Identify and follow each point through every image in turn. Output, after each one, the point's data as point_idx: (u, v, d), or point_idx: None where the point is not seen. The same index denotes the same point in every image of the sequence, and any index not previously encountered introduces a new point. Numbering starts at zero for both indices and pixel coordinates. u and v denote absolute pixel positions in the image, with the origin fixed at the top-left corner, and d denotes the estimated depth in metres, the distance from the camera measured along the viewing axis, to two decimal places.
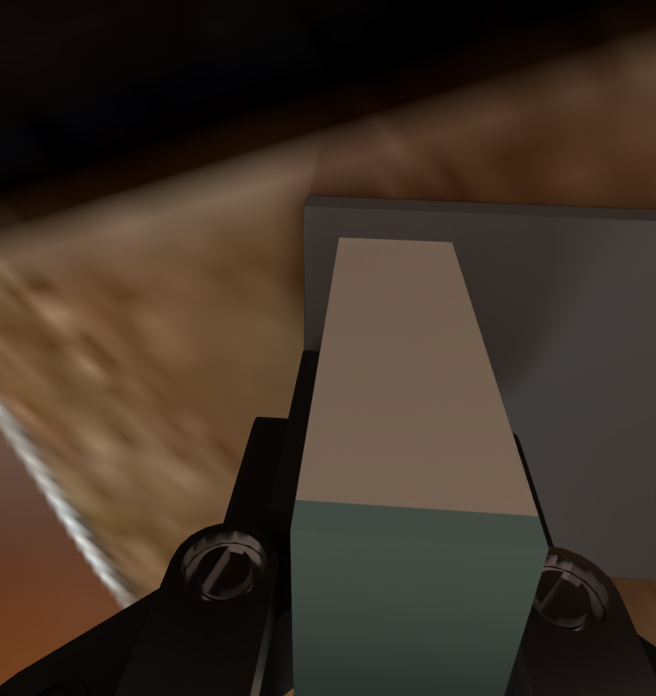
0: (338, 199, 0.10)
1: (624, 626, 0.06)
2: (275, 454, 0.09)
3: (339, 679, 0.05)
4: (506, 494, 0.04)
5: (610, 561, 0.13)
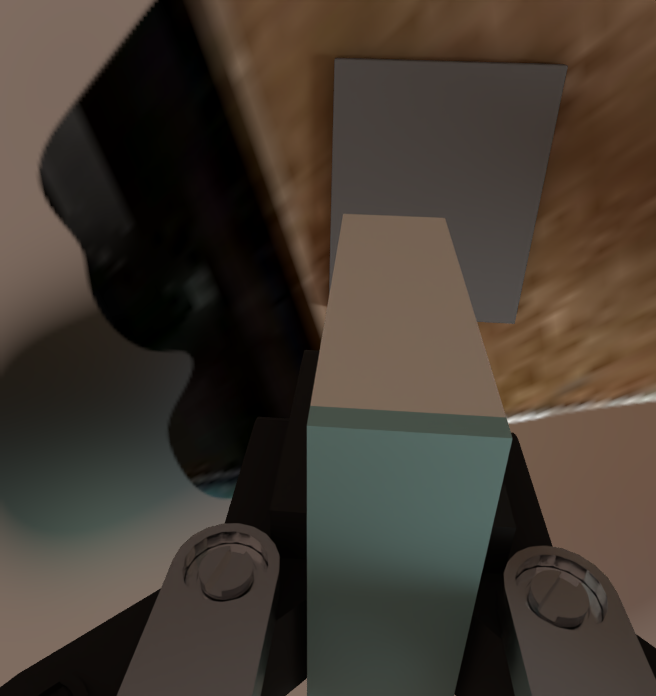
0: None
1: (622, 626, 0.06)
2: (276, 454, 0.09)
3: (345, 563, 0.06)
4: (481, 402, 0.06)
5: (533, 165, 0.22)
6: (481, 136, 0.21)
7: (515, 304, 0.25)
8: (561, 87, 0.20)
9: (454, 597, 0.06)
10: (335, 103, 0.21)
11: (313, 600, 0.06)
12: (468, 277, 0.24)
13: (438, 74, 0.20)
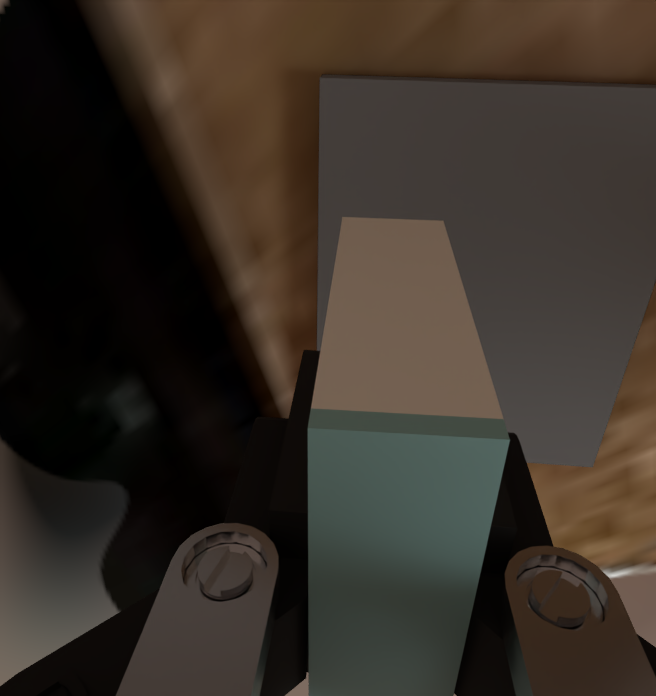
0: None
1: (623, 626, 0.06)
2: (276, 454, 0.09)
3: (346, 563, 0.06)
4: (479, 404, 0.06)
5: (643, 248, 0.13)
6: (561, 203, 0.13)
7: (596, 443, 0.16)
8: None
9: (453, 596, 0.06)
10: (322, 149, 0.13)
11: (314, 600, 0.06)
12: (526, 405, 0.16)
13: (494, 103, 0.12)
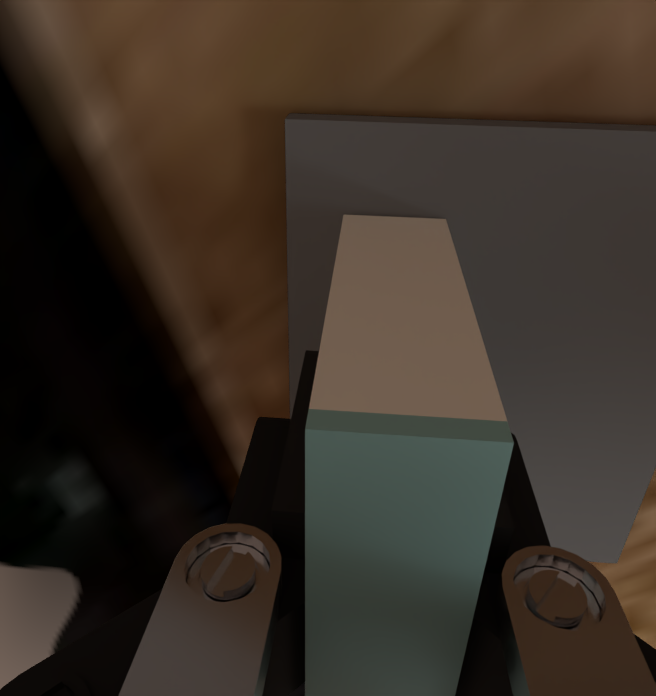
0: None
1: (620, 625, 0.06)
2: (278, 454, 0.09)
3: (344, 568, 0.06)
4: (482, 406, 0.05)
5: None
6: (586, 270, 0.11)
7: (622, 537, 0.14)
8: None
9: (454, 603, 0.06)
10: (290, 205, 0.10)
11: (311, 605, 0.06)
12: (540, 496, 0.13)
13: (504, 151, 0.10)
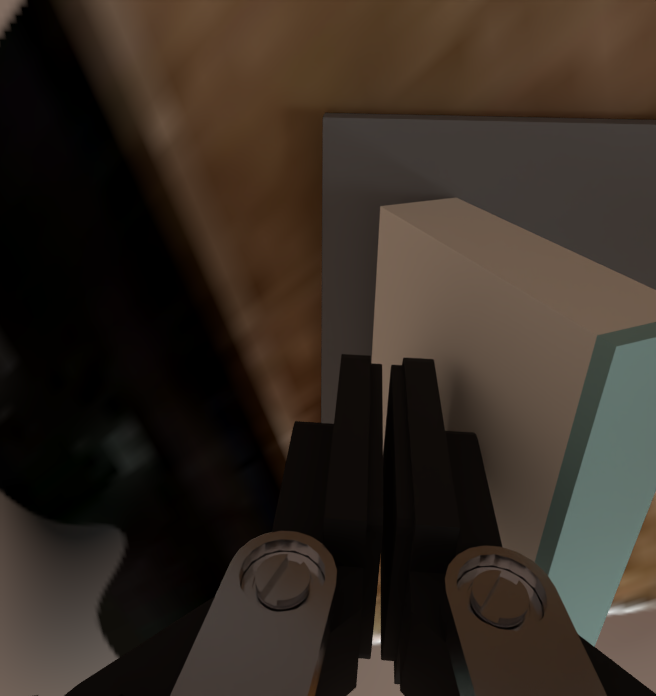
0: None
1: (562, 620, 0.06)
2: (318, 459, 0.09)
3: (604, 455, 0.08)
4: None
5: None
6: (572, 240, 0.13)
7: None
8: None
9: None
10: (325, 189, 0.12)
11: (575, 496, 0.08)
12: None
13: (503, 141, 0.12)
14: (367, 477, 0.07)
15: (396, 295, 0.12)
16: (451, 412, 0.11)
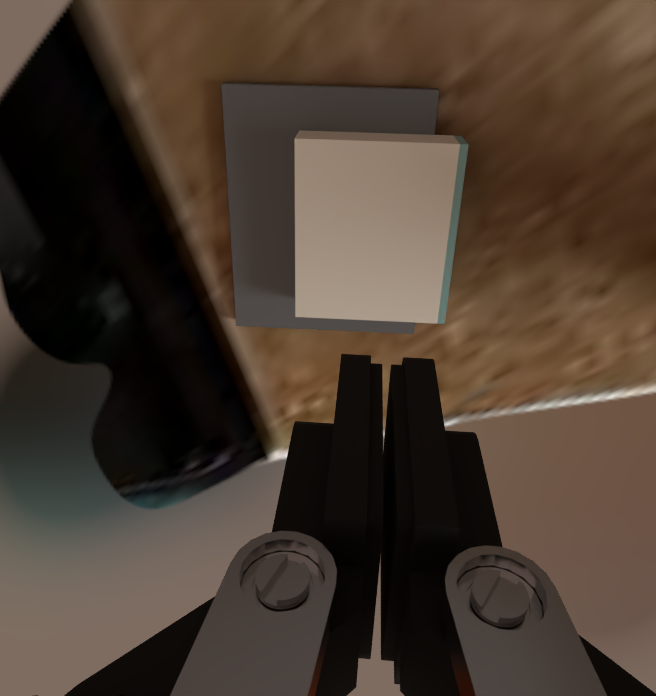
0: None
1: (562, 620, 0.06)
2: (318, 459, 0.09)
3: None
4: (448, 136, 0.22)
5: None
6: None
7: None
8: (435, 110, 0.22)
9: None
10: (225, 125, 0.22)
11: (459, 211, 0.22)
12: None
13: (319, 98, 0.22)
14: (367, 477, 0.07)
15: (318, 184, 0.21)
16: (379, 223, 0.22)
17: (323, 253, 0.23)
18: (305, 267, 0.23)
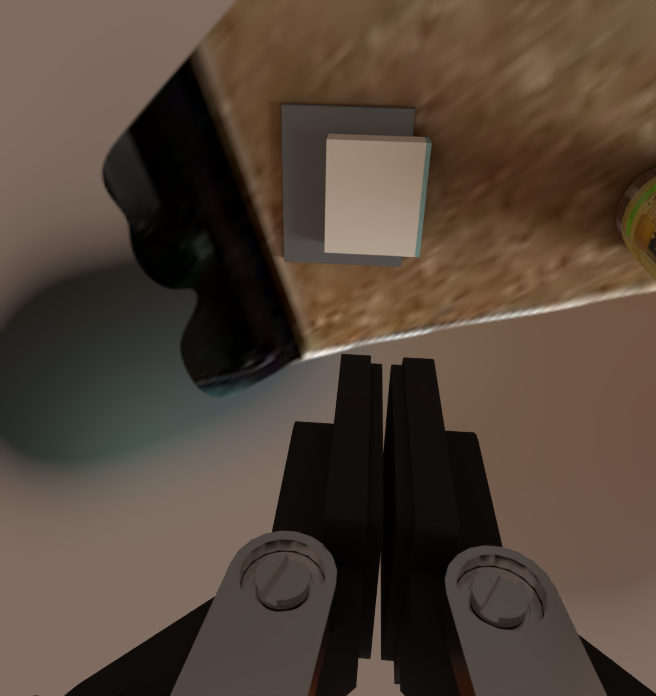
0: None
1: (562, 621, 0.06)
2: (318, 459, 0.09)
3: None
4: (421, 137, 0.35)
5: None
6: None
7: None
8: (413, 121, 0.35)
9: None
10: (282, 130, 0.36)
11: None
12: None
13: (341, 113, 0.35)
14: (367, 477, 0.07)
15: (340, 167, 0.35)
16: (377, 191, 0.35)
17: (342, 210, 0.36)
18: (331, 219, 0.37)
